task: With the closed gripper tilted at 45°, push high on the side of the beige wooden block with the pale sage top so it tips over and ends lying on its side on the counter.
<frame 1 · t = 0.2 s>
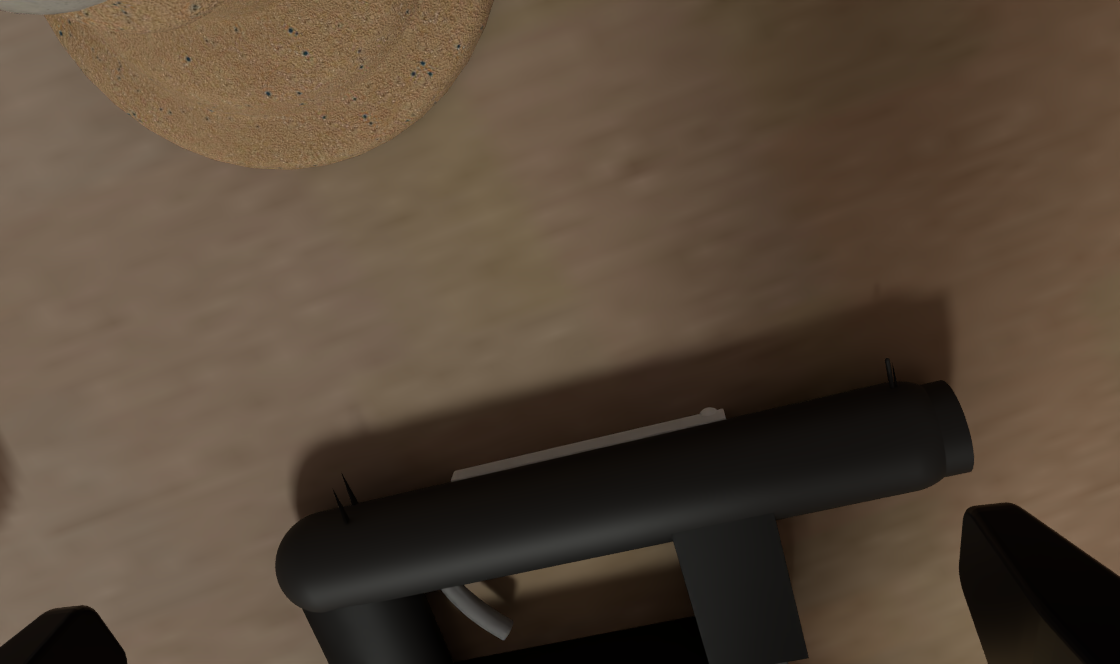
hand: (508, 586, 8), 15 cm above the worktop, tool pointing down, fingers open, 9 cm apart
door handle: (643, 616, 27), on the worktop
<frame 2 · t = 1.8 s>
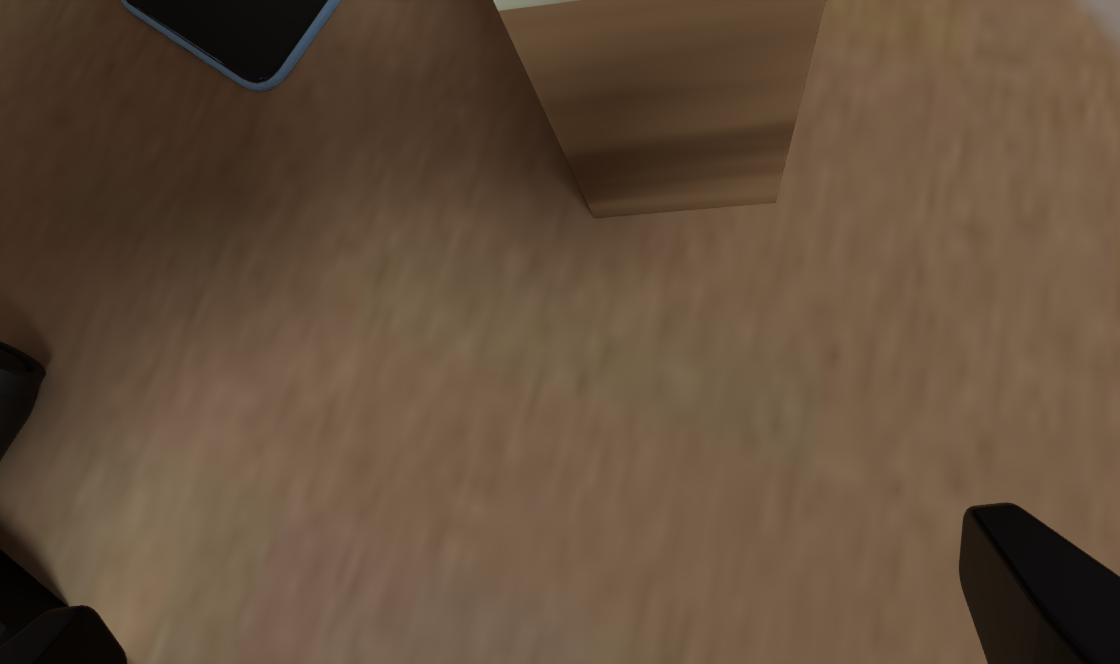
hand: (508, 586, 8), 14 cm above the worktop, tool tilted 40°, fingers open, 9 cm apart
beige wooden block: (677, 125, 24), on the worktop
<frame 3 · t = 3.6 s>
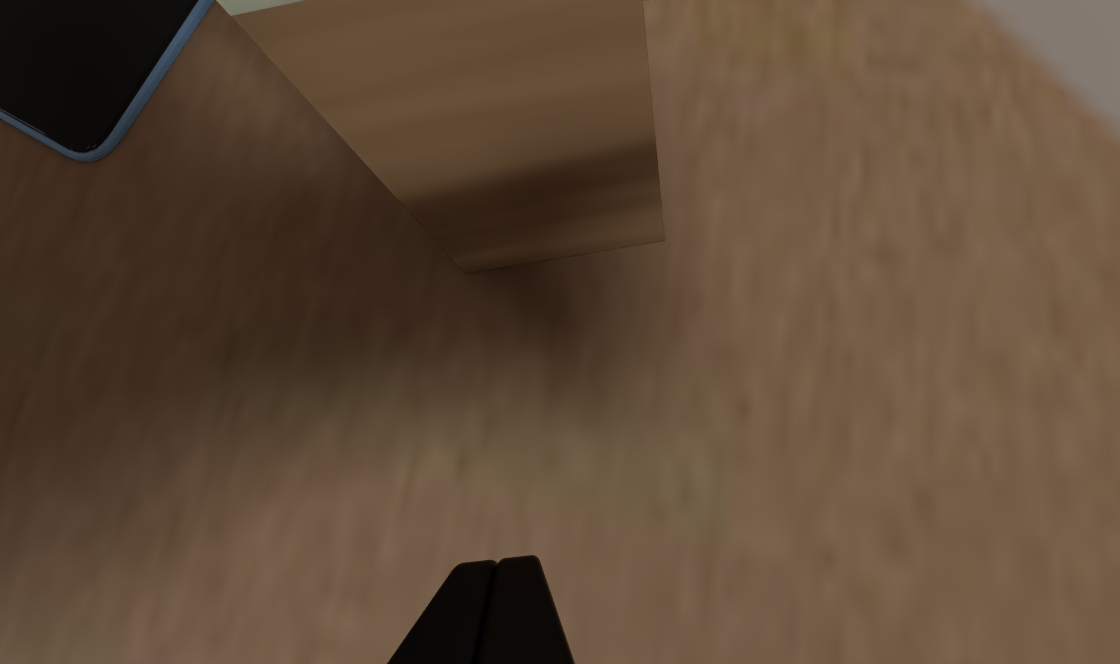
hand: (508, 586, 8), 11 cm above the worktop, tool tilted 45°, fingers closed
beige wooden block: (551, 164, 21), on the worktop
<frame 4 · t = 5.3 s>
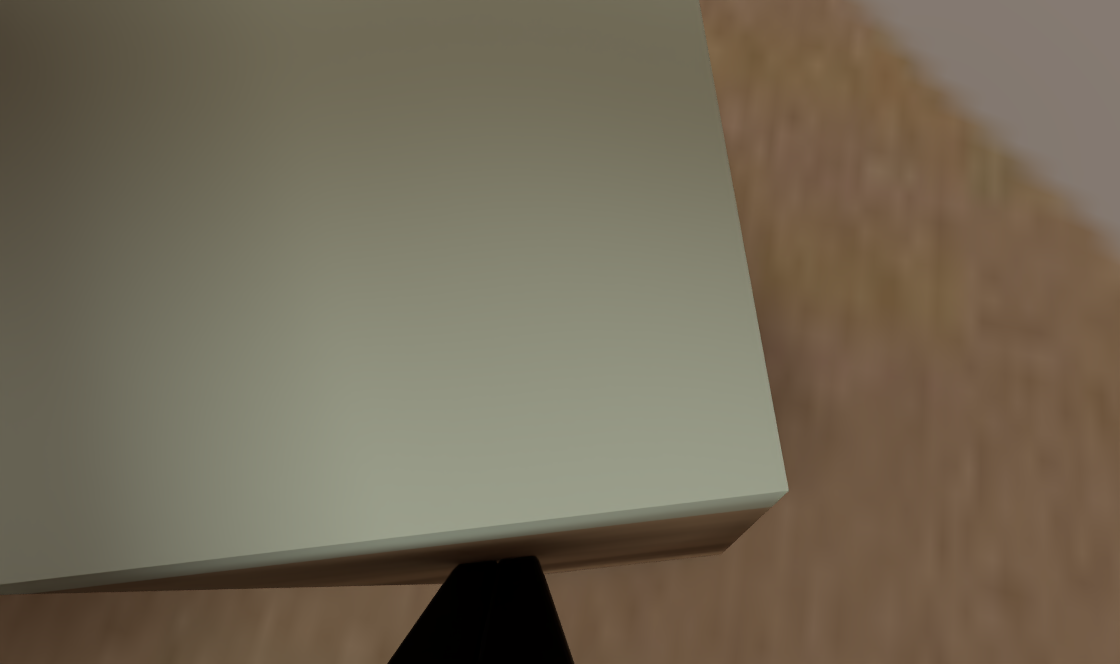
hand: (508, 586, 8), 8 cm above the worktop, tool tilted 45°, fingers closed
beige wooden block: (574, 438, 17), on the worktop, touching gripper
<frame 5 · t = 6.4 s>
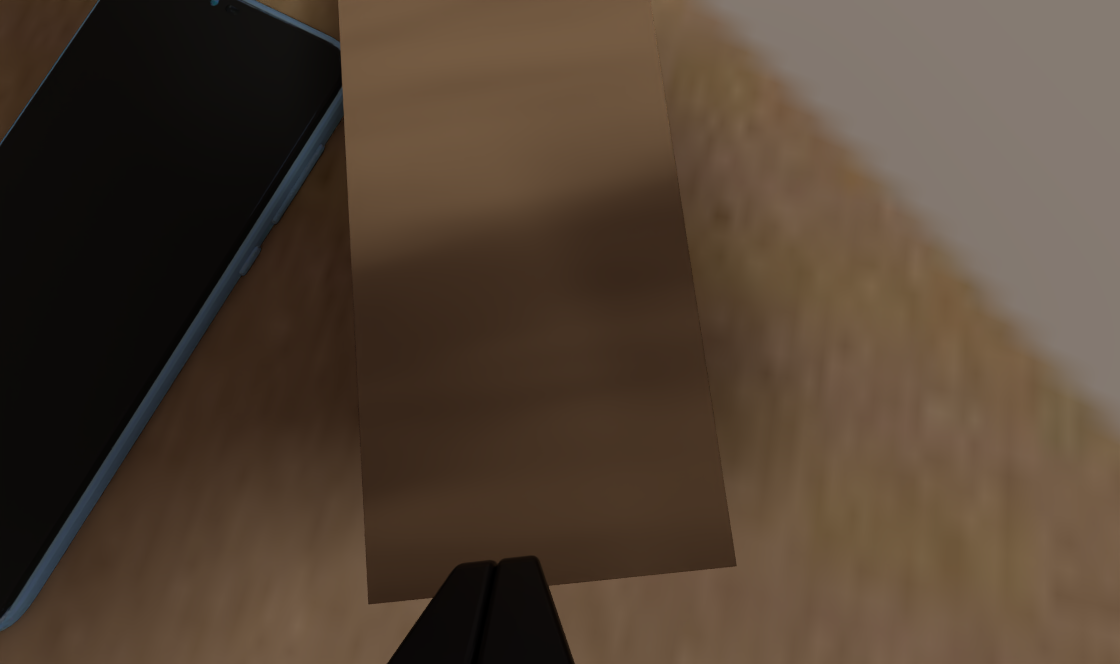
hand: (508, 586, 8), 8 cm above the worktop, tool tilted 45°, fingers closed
beige wooden block: (572, 574, 14), point 2 cm above the worktop, tilted 90°
smartphone: (96, 277, 20), on the worktop
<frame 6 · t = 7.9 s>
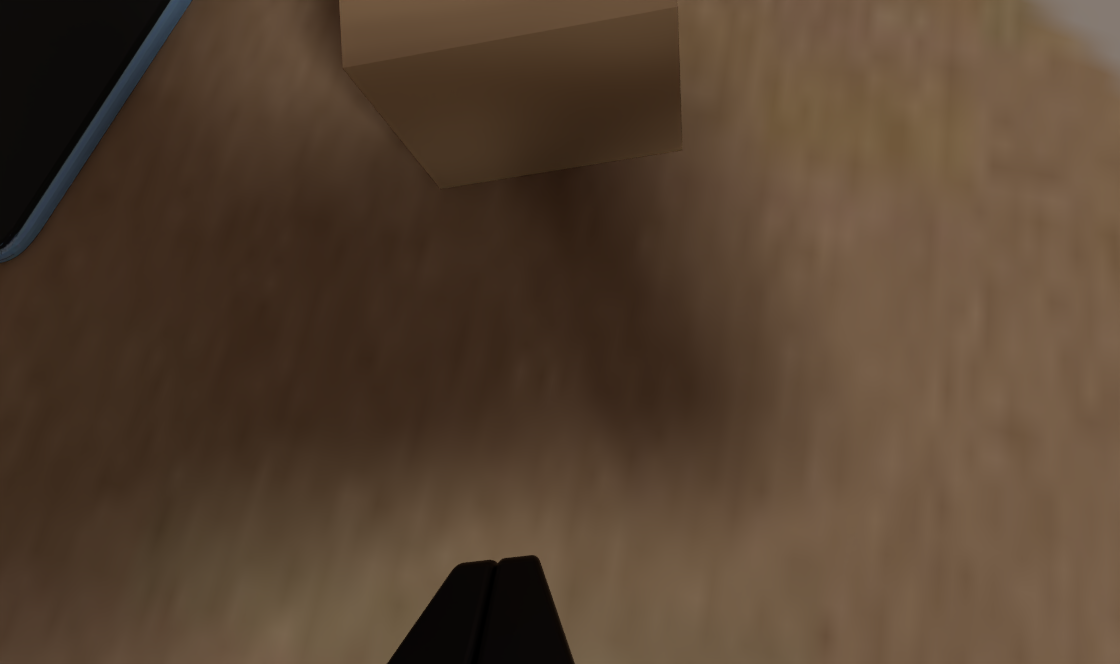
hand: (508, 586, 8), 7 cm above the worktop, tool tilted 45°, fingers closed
beige wooden block: (536, 115, 15), point 2 cm above the worktop, tilted 90°
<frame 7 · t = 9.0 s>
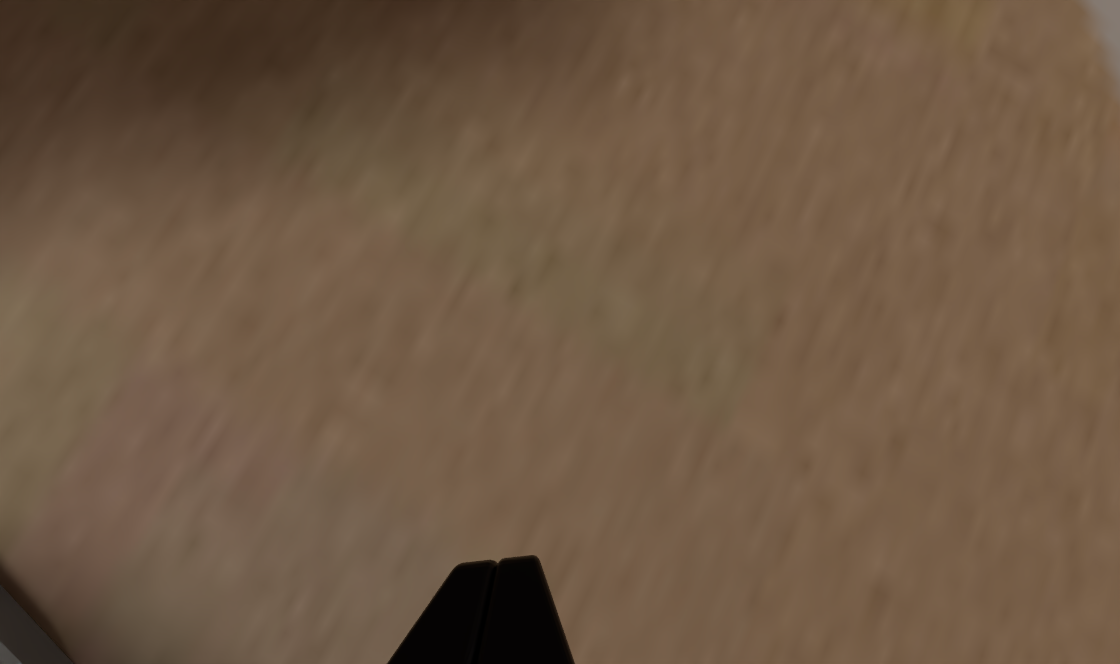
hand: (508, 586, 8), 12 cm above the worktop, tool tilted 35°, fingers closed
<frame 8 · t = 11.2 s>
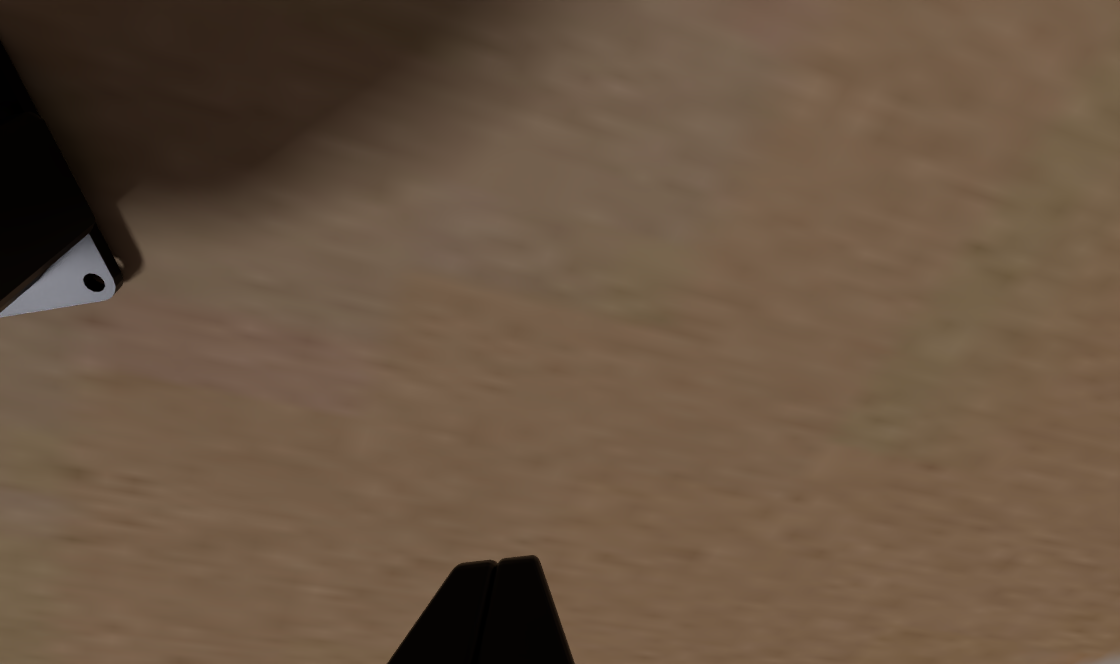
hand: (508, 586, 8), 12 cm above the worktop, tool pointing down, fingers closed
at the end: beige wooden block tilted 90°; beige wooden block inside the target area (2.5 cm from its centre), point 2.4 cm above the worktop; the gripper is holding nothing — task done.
